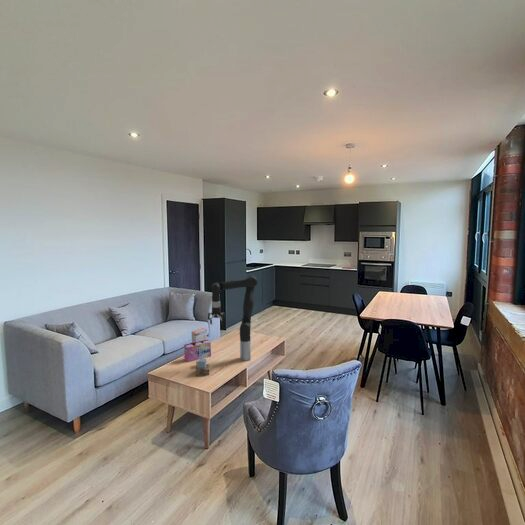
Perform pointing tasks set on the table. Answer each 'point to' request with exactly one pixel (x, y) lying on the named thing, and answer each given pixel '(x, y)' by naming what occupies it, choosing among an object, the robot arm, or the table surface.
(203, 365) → the blue block
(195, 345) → the gum box
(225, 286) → the robot arm
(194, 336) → the cracker box
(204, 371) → the walnut block
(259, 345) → the table surface
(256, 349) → the table surface
